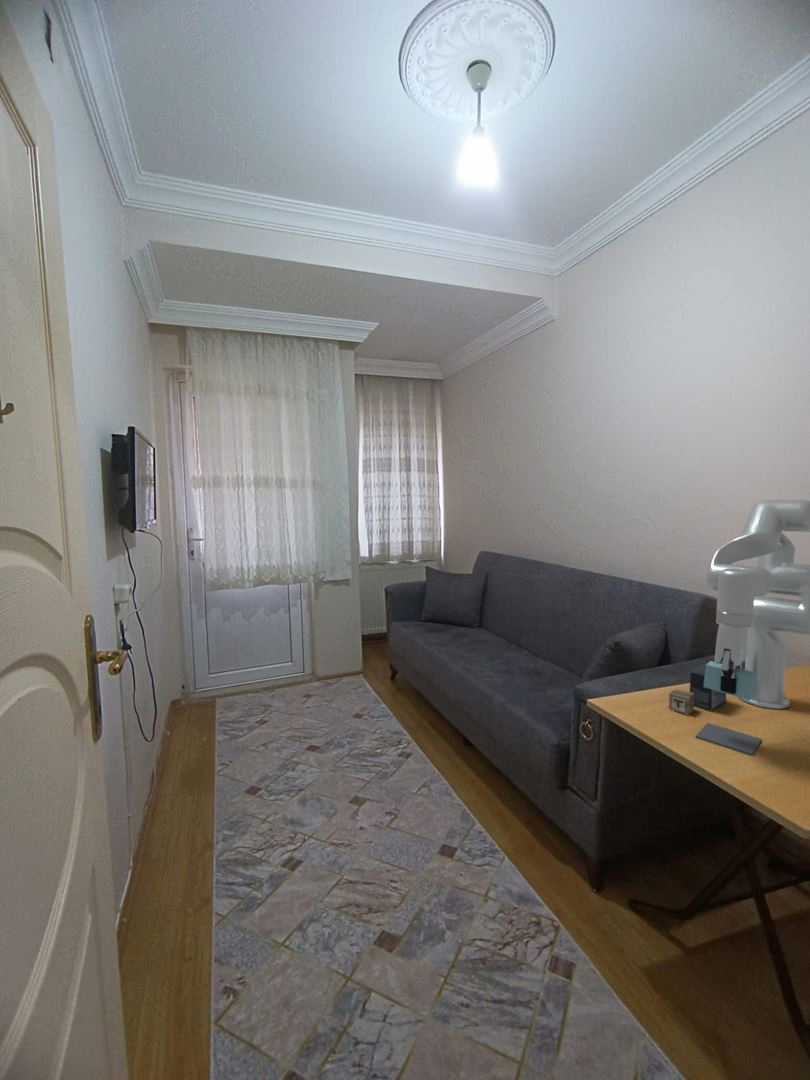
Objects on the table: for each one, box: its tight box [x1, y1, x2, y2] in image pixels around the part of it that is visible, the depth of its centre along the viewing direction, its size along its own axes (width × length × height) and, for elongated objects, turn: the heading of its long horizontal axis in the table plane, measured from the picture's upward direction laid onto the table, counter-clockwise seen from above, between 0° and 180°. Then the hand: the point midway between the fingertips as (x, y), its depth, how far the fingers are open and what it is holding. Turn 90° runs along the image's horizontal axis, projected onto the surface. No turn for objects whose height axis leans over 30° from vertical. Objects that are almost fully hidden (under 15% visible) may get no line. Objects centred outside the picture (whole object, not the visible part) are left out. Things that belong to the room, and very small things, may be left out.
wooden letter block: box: [668, 688, 695, 716], centre depth 139 cm, size 6×5×5 cm
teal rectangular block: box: [703, 660, 757, 700], centre depth 121 cm, size 4×10×6 cm, turn 43°
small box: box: [689, 663, 727, 712], centre depth 143 cm, size 11×6×10 cm, turn 126°
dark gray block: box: [695, 722, 762, 756], centre depth 122 cm, size 10×12×1 cm
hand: (730, 688), depth 121 cm, fingers closed on teal rectangular block, 4 cm apart
